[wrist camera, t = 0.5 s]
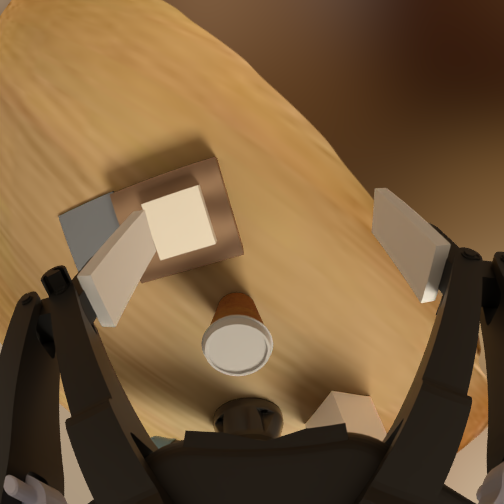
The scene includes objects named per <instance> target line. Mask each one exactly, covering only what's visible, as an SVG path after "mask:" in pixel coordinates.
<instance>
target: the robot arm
mask: <svg viewBox="0 0 504 504" xmlns="http://www.w3.org/2000/svg"><path fill="white" fill-rule="evenodd" d="M372 233H373V235H374V236H375V237H376V239H377V240H378V241H379V243H380V244H381V245H382V247H383V248H384V249H385V251H386V252H387V254H388V255H389V256H390V258H391V259H392V261H393V262H394V263H395V265H396V266H397V268H398V269H399V271H400V272H401V273H402V275H403V276H404V278H405V279H406V281H407V282H408V284H409V285H410V287H411V288H412V290H413V292H414V293H415V295H416V296H417V298H418V299H419V301H420V302H421V303H424V302H430V301H435V299H436V296H437V292H438V289H439V290H440V291H441V293H442V294H443V296H442V299H441V302H440V304H439V307H438V310H437V313H436V315H437V316H436V319H435V323H434V326H433V329H432V332H431V335H430V338H429V341H428V344H427V347H426V350H425V352H424V355H423V358H422V361H421V363H420V366H419V368H418V371H417V373H416V376H415V378H414V381H413V383H412V385H411V388H410V390H409V392H408V394H407V396H406V399H405V401H404V403H403V405H402V407H401V409H400V411H399V413H398V415H397V417H396V419H395V421H394V423H393V425H392V427H391V428H390V430H389V432H388V433H387V435H386V437H385V438H384V440H383V441H380V440H379V439H376V438H374V437H371V436H368V435H364V434H360V433H353V432H347V429H346V423H341V424H335V425H329V426H322V427H314V428H306V429H303V430H300V431H297V432H294V433H291V434H288V435H285V436H281V432H282V428H283V417H282V412H281V410H280V409H279V408H278V407H277V406H276V405H275V404H273V403H271V402H269V401H267V400H263V399H258V398H242V399H237V400H233V401H230V402H228V403H226V404H224V405H222V406H221V407H220V408H219V409H218V410H217V411H216V413H215V415H214V429H215V432H199V431H186V432H185V438H184V440H181V441H179V440H177V439H174V438H173V439H170V438H164V437H160V436H153V437H151V438H150V437H149V435H148V433H147V432H146V430H145V428H144V427H143V425H142V423H141V421H140V420H139V418H138V416H137V414H136V413H135V411H134V409H133V407H132V405H131V403H130V401H129V400H128V398H127V396H126V394H125V392H124V390H123V388H122V386H121V384H120V382H119V380H118V377H117V375H116V373H115V371H114V369H113V367H112V364H111V362H110V360H109V358H108V355H107V353H106V351H105V348H104V346H103V343H102V341H101V338H100V336H99V333H98V331H97V328H96V327H95V325H94V323H93V322H94V321H95V319H96V317H97V318H98V320H99V322H100V324H101V326H102V327H116V325H117V323H118V321H119V319H120V317H121V315H122V313H123V311H124V309H125V307H126V305H127V303H128V302H129V300H130V298H131V296H132V294H133V292H134V290H135V288H136V286H137V285H138V283H139V281H140V279H141V277H142V275H143V274H144V272H145V270H146V268H147V266H148V265H149V263H150V261H151V259H152V258H153V256H154V254H155V252H156V249H155V245H154V242H153V238H152V235H151V231H150V228H149V224H148V220H147V217H146V213H145V210H140V211H134V212H132V213H131V215H130V216H129V217H128V218H127V219H126V220H125V221H124V222H123V223H122V224H121V225H120V226H119V227H118V229H117V230H116V231H115V232H114V233H113V234H112V235H111V236H110V237H109V239H108V240H107V241H106V242H105V243H104V244H103V245H102V246H101V248H100V249H99V250H98V251H97V252H96V253H95V255H94V256H92V257H91V258H90V259H89V260H88V261H87V262H86V264H85V265H84V266H83V267H82V268H81V270H80V271H79V272H78V273H77V275H76V276H75V277H74V278H73V280H71V278H70V276H69V274H68V271H67V269H66V267H65V266H62V265H61V266H56V267H54V268H52V269H50V270H48V271H47V272H46V273H45V274H44V275H43V276H42V278H41V282H42V284H43V286H44V288H45V290H46V292H47V293H48V295H49V298H46V299H42V300H41V299H40V297H39V296H38V294H37V293H36V292H30V293H28V294H27V293H26V294H25V295H23V296H22V297H21V299H20V300H19V301H18V303H17V305H16V307H15V310H14V313H13V316H12V318H11V321H10V324H9V327H8V330H7V333H6V336H5V340H4V343H3V346H2V350H1V353H0V504H67V502H66V500H65V498H64V474H63V465H62V454H61V442H60V425H59V381H60V374H61V379H62V383H63V387H64V391H65V395H66V399H67V402H68V406H69V409H70V413H71V418H68V419H67V420H66V422H65V423H66V429H67V432H68V436H69V439H70V442H71V445H72V448H73V450H74V453H75V456H76V459H77V461H78V464H79V466H80V469H81V471H82V474H83V476H84V478H85V481H86V483H87V485H88V487H89V490H90V492H91V494H92V496H93V498H94V500H92V501H91V502H90V503H88V504H476V503H474V502H472V501H470V500H469V499H467V498H465V497H464V496H462V495H461V494H459V493H457V492H456V491H454V490H453V489H451V488H449V487H448V486H446V485H445V484H444V482H445V480H446V478H447V475H448V473H449V471H450V468H451V466H452V463H453V461H454V458H455V456H456V453H457V451H458V448H459V445H460V442H461V439H462V436H463V433H464V430H465V427H466V423H467V420H468V417H469V413H470V409H471V404H472V398H471V397H470V396H467V392H468V388H469V384H470V379H471V375H472V370H473V365H474V359H475V353H476V347H477V340H478V333H479V324H480V323H481V330H482V336H483V342H484V350H485V359H486V369H487V382H488V440H487V476H486V478H485V479H484V482H483V485H481V486H480V487H479V489H478V491H477V494H476V495H477V499H478V500H479V503H478V504H504V252H496V253H495V255H494V258H493V261H492V262H491V261H482V257H481V256H480V254H479V253H477V252H476V251H474V250H472V249H469V248H465V247H464V248H459V247H458V246H457V245H456V244H455V243H454V242H452V240H451V239H450V238H447V236H446V235H445V234H444V233H443V232H442V231H441V230H440V229H439V228H438V227H436V226H434V225H432V224H430V223H427V222H426V221H425V220H424V219H423V218H422V217H421V216H420V215H418V214H417V213H416V212H415V211H414V210H413V209H411V208H410V207H409V206H408V205H407V204H406V203H404V202H403V201H402V200H400V199H399V198H398V197H397V196H396V195H395V194H393V193H392V192H391V191H390V190H388V189H387V188H375V196H374V210H373V223H372ZM280 436H281V437H280Z"/></svg>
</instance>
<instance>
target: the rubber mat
mask: <svg viewBox="0 0 504 504" xmlns="http://www.w3.org/2000/svg"><path fill="white" fill-rule="evenodd" d="M112 193H114V191H113V192H110V193H108V194H106V195H103V196H101V197H99V198H96V199H94V200H92V201H90V202H87V203H85V204H83V205H81V206H79V207H77V208H74V209H72V210H70V211H68V212H66V213H64V214H62V215H60V216H59V220H60V223H61V226H62V229H63V232H64V235H65V238H66V240H67V243H68V246H69V249H70V251H71V254H72V257H73V259H74V262H75V264H76V267H77V269H78V272H79V271H80V270H81V268H82V267H83V266H84V265H85V264H86V262H87V261H88V260H89V259H90V258H91V257H92V256H94V255H95V253H96V252H97V251H98V250H99V249H100V248H101V246H102V245H103V244H104V243H105V242H106V241H107V240H108V239H109V237H110V236H111V235H112V234H113V233H114V232H115V231H116V230H117V229H118V227H119V226H120V225H119V222H118V219H117V216H116V213H115V210H114V207H113V204H112V201H111V198H110V194H112Z"/></svg>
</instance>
